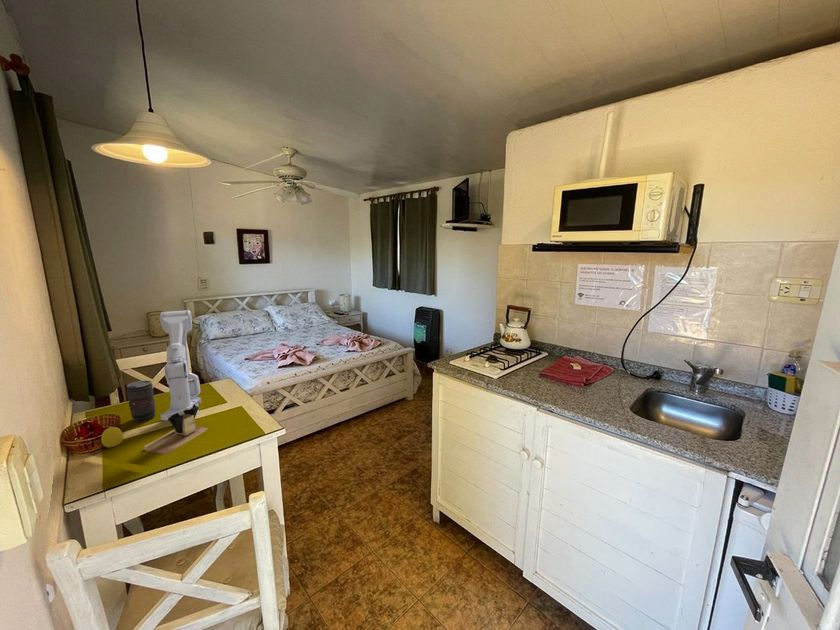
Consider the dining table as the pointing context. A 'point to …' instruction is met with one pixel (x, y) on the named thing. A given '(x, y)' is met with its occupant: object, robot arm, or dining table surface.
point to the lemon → (112, 437)
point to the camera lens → (141, 400)
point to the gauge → (187, 424)
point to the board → (172, 441)
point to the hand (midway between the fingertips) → (185, 429)
